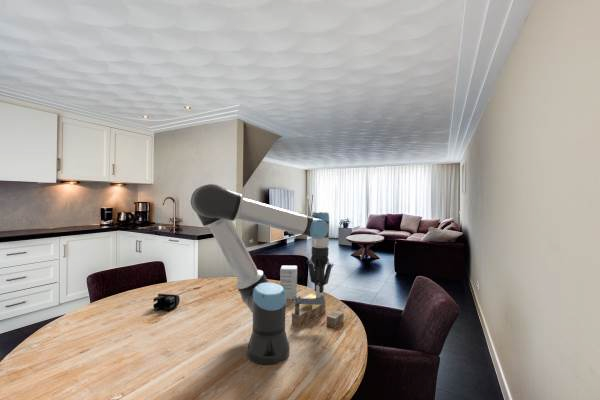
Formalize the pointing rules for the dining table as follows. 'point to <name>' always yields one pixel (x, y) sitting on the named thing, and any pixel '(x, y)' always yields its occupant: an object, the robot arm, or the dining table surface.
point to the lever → (309, 300)
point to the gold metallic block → (310, 306)
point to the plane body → (305, 314)
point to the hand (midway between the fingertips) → (318, 299)
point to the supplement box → (289, 280)
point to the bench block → (335, 318)
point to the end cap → (166, 302)
